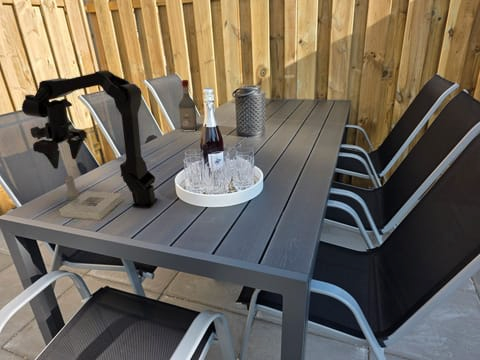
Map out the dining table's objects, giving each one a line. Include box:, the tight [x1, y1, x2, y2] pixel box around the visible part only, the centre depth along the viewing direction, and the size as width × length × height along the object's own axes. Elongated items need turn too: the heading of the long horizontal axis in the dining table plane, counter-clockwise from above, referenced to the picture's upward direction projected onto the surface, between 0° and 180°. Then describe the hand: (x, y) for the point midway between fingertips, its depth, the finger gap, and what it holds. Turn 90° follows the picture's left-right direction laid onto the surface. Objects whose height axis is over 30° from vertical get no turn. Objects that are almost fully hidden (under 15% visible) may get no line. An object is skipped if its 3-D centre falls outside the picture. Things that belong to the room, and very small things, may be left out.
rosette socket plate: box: [59, 190, 124, 221], centre depth 107 cm, size 14×14×2 cm
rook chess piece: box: [64, 175, 81, 201], centre depth 114 cm, size 4×4×8 cm
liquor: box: [178, 79, 198, 130], centre depth 194 cm, size 9×9×30 cm
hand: (65, 163), depth 110 cm, fingers open, 9 cm apart
